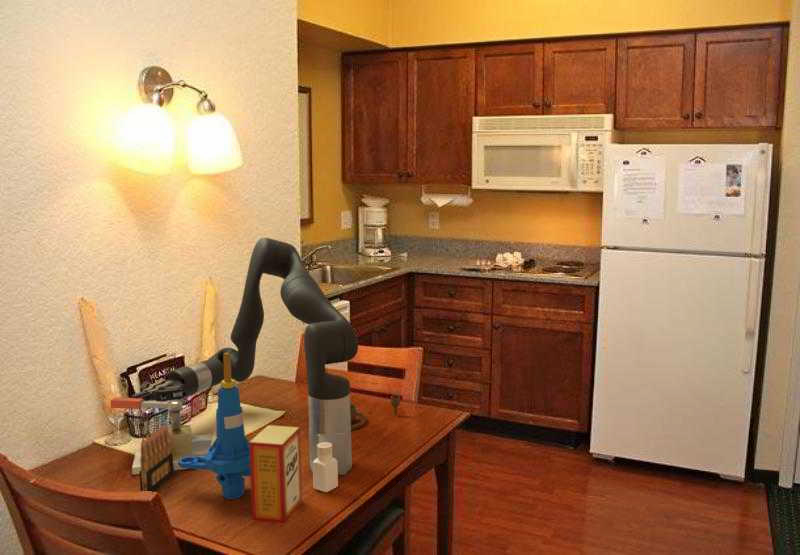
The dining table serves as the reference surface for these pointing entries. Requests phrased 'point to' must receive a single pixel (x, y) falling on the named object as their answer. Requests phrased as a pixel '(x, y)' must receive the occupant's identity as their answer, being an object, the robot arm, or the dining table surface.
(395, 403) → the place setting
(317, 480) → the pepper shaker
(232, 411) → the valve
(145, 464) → the ammunition clip
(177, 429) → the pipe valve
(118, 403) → the valve lever
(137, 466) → the mounting board
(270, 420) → the dining table surface
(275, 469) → the baking soda box
